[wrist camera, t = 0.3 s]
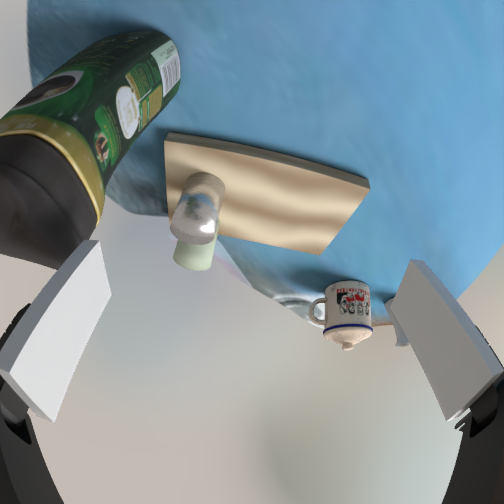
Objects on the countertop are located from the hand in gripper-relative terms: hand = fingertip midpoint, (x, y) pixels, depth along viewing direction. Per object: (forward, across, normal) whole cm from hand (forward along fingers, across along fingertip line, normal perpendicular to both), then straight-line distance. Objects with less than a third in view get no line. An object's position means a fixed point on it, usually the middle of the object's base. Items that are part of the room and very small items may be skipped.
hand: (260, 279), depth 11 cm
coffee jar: (+15, -11, +10) cm, 22 cm away
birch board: (+21, +2, -4) cm, 22 cm away
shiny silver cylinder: (+20, -4, -3) cm, 20 cm away
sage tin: (+23, -5, -8) cm, 25 cm away
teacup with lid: (+30, +19, -23) cm, 43 cm away
